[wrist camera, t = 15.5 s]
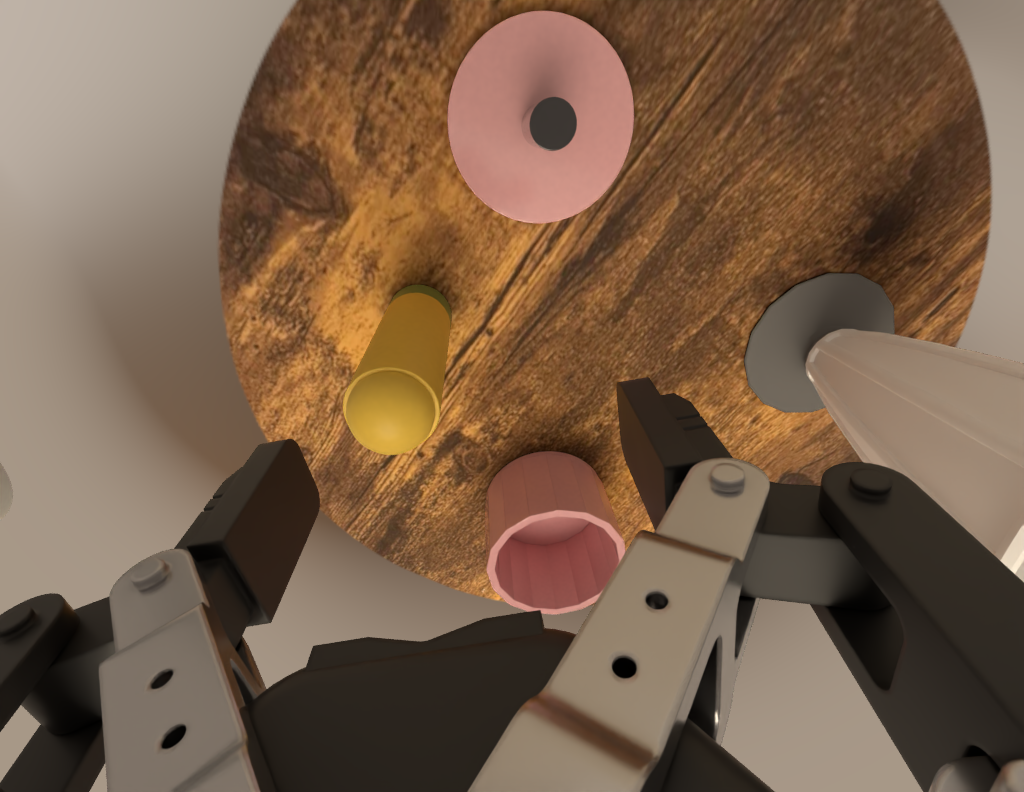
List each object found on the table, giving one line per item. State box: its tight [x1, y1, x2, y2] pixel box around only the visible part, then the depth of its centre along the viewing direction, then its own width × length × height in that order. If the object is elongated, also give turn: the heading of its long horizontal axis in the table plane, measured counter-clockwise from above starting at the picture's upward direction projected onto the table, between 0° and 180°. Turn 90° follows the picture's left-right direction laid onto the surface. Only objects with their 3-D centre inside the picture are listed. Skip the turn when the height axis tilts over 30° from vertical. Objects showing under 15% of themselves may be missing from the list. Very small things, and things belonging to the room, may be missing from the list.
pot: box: [485, 451, 626, 614], centre depth 41 cm, size 10×10×8 cm
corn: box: [343, 285, 452, 455], centre depth 29 cm, size 4×4×16 cm
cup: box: [744, 273, 1024, 582], centre depth 30 cm, size 12×12×22 cm
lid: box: [447, 11, 634, 223], centre depth 28 cm, size 11×11×6 cm
